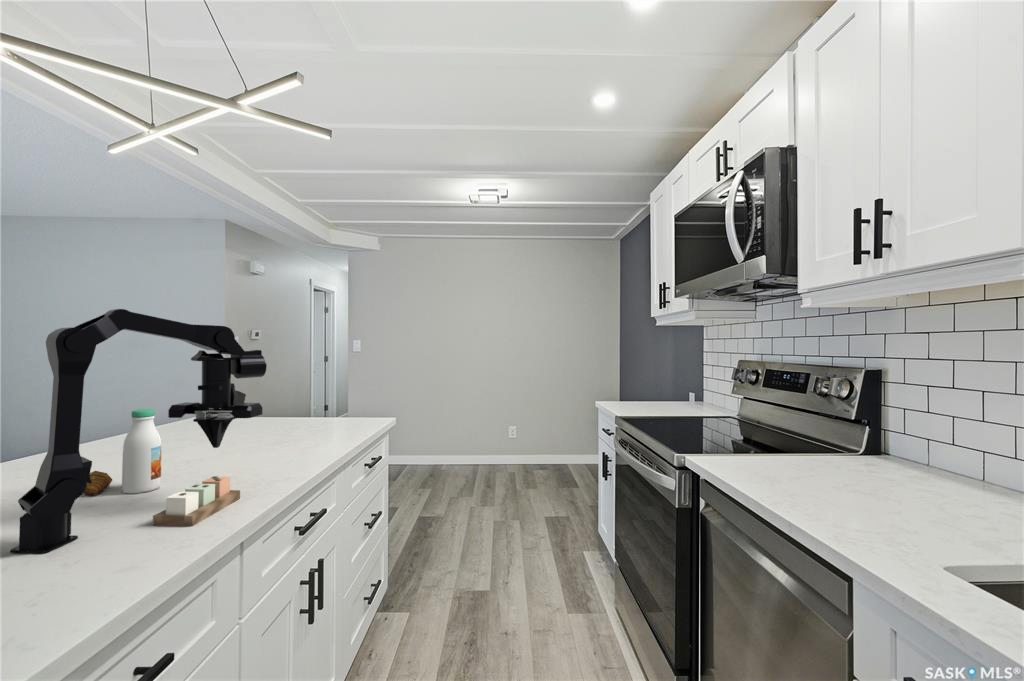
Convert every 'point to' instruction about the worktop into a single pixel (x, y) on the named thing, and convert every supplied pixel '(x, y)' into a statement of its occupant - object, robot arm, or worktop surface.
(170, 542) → the worktop surface
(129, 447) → the milk bottle
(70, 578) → the worktop surface
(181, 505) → the key one
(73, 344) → the robot arm
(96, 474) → the croissant
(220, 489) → the key three
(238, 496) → the board
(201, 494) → the key two
